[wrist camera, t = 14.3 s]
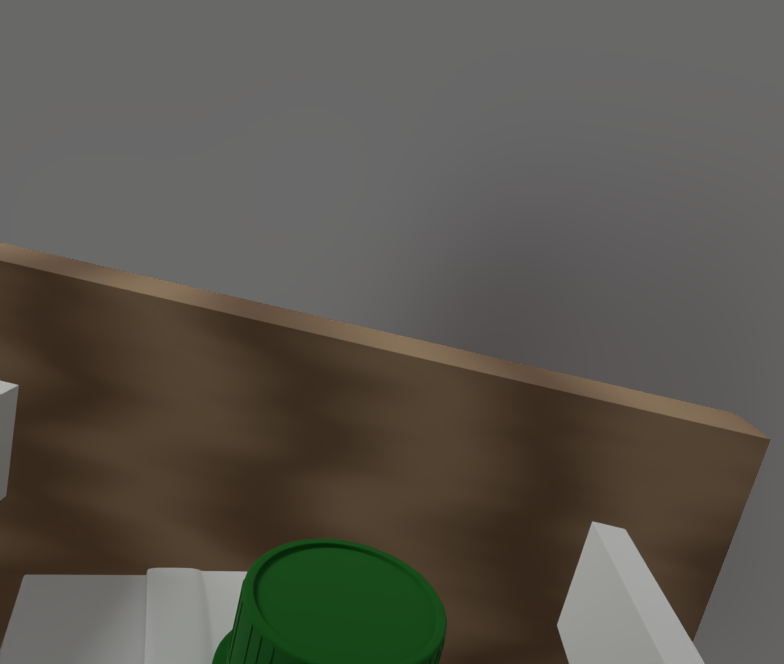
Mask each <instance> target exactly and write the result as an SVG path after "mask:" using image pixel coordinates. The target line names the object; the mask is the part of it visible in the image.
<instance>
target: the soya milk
mask: <svg viewBox="0 0 784 664" xmlns="http://www.w3.org/2000/svg"><path fill="white" fill-rule="evenodd" d="M446 629H447V618H446V613H445V609H444V606H443V604H442V601H441V599H440V597H439V596H438V594H437V592H436V591H435V590H434V588H433V587H432V586H431V585H430V583H429V582H428V581H427V580H426V579H425V578H424V577H423V576H422V575H421V574H420V573H418V572H417V571H416V570H415V569H413V568H412V567H410V566H409V565H408V564H406V563H404V562H403V561H401V560H399V559H398V558H396V557H394V556H392V555H390V554H388V553H386V552H383V551H381V550H378V549H376V548H373V547H370V546H366V545H363V544H359V543H355V542H350V541H344V540H336V539H307V540H299V541H294V542H290V543H286V544H283V545H281V546H278V547H276V548H274V549H272V550H270V551H268V552H266V553H265V554H263V555H262V556H261V557H260V558H258V559H257V560H256V561H255V562H254V563H253V565H252V566H251V567H250V569H249V570H248V572H240V571H200V570H199V569H193V568H151V569H148V570H147V573H146V575H24V577H23V580H22V583H21V586H20V589H19V593H18V596H17V599H16V602H15V605H14V608H13V611H12V615H11V618H10V621H9V624H8V627H7V630H6V633H5V637H4V640H3V643H2V646H1V649H0V664H439V660H440V657H441V653H442V650H443V646H444V642H445V639H444V638H445V635H446Z"/></svg>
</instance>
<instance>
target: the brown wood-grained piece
mask: <svg viewBox="0 0 784 664" xmlns="http://www.w3.org/2000/svg"><path fill="white" fill-rule="evenodd" d="M0 381H4V382H8V383H12V384H17V385H19V388H18V397H17V406H16V414H15V423H14V432H13V441H12V449H11V458H10V467H9V476H8V484H7V493H6V496H5V497H4V498H3V499H2V500H0V649H1V646H2V643H3V640H4V637H5V633H6V630H7V627H8V624H9V621H10V618H11V615H12V611H13V608H14V605H15V602H16V599H17V596H18V593H19V589H20V586H21V583H22V580H23V577H24V575H146V573H147V570H148V569H151V568H193V569H199V570H200V571H240V572H248V570H249V569H250V567H251V566H252V565H253V563H254V562H255V561H256V560H257V559H258V558H260V557H261V556H262V555H263V554H265V553H266V552H268V551H270V550H272V549H274V548H276V547H278V546H281V545H283V544H286V543H290V542H294V541H299V540H307V539H336V540H344V541H350V542H355V543H359V544H363V545H366V546H370V547H373V548H376V549H378V550H381V551H383V552H386V553H388V554H390V555H392V556H394V557H396V558H398V559H399V560H401V561H403V562H404V563H406V564H408V565H409V566H410V567H412V568H413V569H415V570H416V571H417V572H418V573H420V574H421V575H422V576H423V577H424V578H425V579H426V580H427V581H428V582H429V583H430V585H431V586H432V587H433V588H434V590H435V591H436V592H437V594H438V596H439V597H440V599H441V601H442V604H443V606H444V609H445V613H446V618H447V629H446V635H445V638H444V639H445V642H444V646H443V650H442V653H441V657H440V660H439V664H569V662H568V659H567V656H566V653H565V649H564V646H563V643H562V640H561V637H560V633H559V630H558V627H557V623H558V621H559V618H560V615H561V612H562V609H563V606H564V603H565V600H566V597H567V594H568V591H569V588H570V585H571V582H572V579H573V577H574V574H575V571H576V568H577V565H578V562H579V559H580V556H581V553H582V550H583V547H584V544H585V541H586V538H587V536H588V533H589V530H590V527H591V524H592V521H593V522H597V523H602V524H606V525H610V526H614V527H618V528H623V529H625V530H626V531H627V533H628V535H629V536H630V538H631V540H632V541H633V543H634V545H635V546H636V548H637V550H638V552H639V553H640V555H641V557H642V558H643V560H644V562H645V563H646V565H647V567H648V568H649V570H650V572H651V573H652V575H653V577H654V579H655V580H656V582H657V584H658V585H659V587H660V589H661V590H662V592H663V594H664V595H665V597H666V599H667V601H668V602H669V604H670V606H671V607H672V609H673V611H674V612H675V614H676V616H677V617H678V619H679V621H680V622H681V624H682V626H683V628H684V629H685V631H686V633H687V634H688V636H689V638H690V639H691V641H692V642H693V640H694V637H695V635H696V632H697V629H698V627H699V624H700V621H701V619H702V616H703V614H704V611H705V609H706V606H707V603H708V601H709V598H710V595H711V593H712V590H713V588H714V585H715V583H716V580H717V577H718V575H719V572H720V570H721V567H722V564H723V562H724V559H725V557H726V554H727V551H728V549H729V546H730V544H731V541H732V538H733V536H734V533H735V531H736V528H737V525H738V523H739V520H740V518H741V515H742V512H743V510H744V507H745V505H746V502H747V499H748V497H749V494H750V492H751V489H752V486H753V484H754V481H755V479H756V476H757V473H758V471H759V468H760V466H761V463H762V460H763V458H764V455H765V453H766V450H767V447H768V445H769V442H770V439H769V438H768V437H767V436H765V435H764V434H762V433H761V432H760V431H758V430H757V429H756V428H754V427H753V426H751V425H750V424H749V423H747V422H746V421H745V420H743V419H742V418H741V417H739V416H738V415H736V414H735V413H731V412H727V411H722V410H718V409H714V408H709V407H705V406H700V405H697V404H692V403H688V402H683V401H679V400H675V399H670V398H667V397H662V396H658V395H653V394H649V393H645V392H641V391H636V390H632V389H628V388H624V387H619V386H615V385H611V384H606V383H602V382H598V381H594V380H589V379H585V378H581V377H576V376H572V375H568V374H563V373H559V372H555V371H551V370H546V369H541V368H538V367H533V366H529V365H525V364H520V363H516V362H511V361H508V360H503V359H499V358H495V357H490V356H486V355H481V354H478V353H473V352H469V351H465V350H460V349H456V348H452V347H447V346H443V345H439V344H435V343H430V342H426V341H422V340H417V339H413V338H408V337H404V336H400V335H396V334H392V333H387V332H383V331H379V330H374V329H370V328H366V327H361V326H357V325H353V324H349V323H344V322H340V321H336V320H332V319H327V318H323V317H319V316H314V315H310V314H306V313H301V312H297V311H293V310H288V309H284V308H280V307H276V306H271V305H267V304H262V303H258V302H254V301H250V300H246V299H241V298H237V297H233V296H228V295H224V294H220V293H216V292H211V291H207V290H203V289H198V288H194V287H190V286H185V285H181V284H177V283H172V282H168V281H164V280H160V279H155V278H151V277H147V276H142V275H138V274H134V273H129V272H125V271H121V270H117V269H112V268H108V267H104V266H100V265H95V264H91V263H86V262H82V261H78V260H74V259H69V258H65V257H61V256H56V255H52V254H48V253H44V252H39V251H35V250H31V249H26V248H22V247H18V246H14V245H9V244H5V243H1V242H0Z"/></svg>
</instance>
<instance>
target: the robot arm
mask: <svg viewBox="0 0 784 664" xmlns="http://www.w3.org/2000/svg"><path fill="white" fill-rule="evenodd" d="M18 388H19V385H17V384H12V383H8V382H4V381H0V500H2V499H3V498H4V497H5V496H6V493H7V484H8V476H9V467H10V458H11V449H12V441H13V432H14V423H15V414H16V406H17V397H18ZM557 627H558V630H559V633H560V637H561V640H562V643H563V646H564V649H565V653H566V656H567V659H568V662H569V664H705V663H704V661H703V660H702V658H701V656H700V655H699V653H698V651H697V650H696V648H695V646H694V645H693V643H692V641H691V639H690V638H689V636H688V634H687V633H686V631H685V629H684V628H683V626H682V624H681V622H680V621H679V619H678V617H677V616H676V614H675V612H674V611H673V609H672V607H671V606H670V604H669V602H668V601H667V599H666V597H665V595H664V594H663V592H662V590H661V589H660V587H659V585H658V584H657V582H656V580H655V579H654V577H653V575H652V573H651V572H650V570H649V568H648V567H647V565H646V563H645V562H644V560H643V558H642V557H641V555H640V553H639V552H638V550H637V548H636V546H635V545H634V543H633V541H632V540H631V538H630V536H629V535H628V533H627V531H626V530H625V529H623V528H618V527H614V526H610V525H606V524H602V523H597V522H593V521H592V524H591V527H590V530H589V533H588V536H587V538H586V541H585V544H584V547H583V550H582V553H581V556H580V559H579V562H578V565H577V568H576V571H575V574H574V577H573V579H572V582H571V585H570V588H569V591H568V594H567V597H566V600H565V603H564V606H563V609H562V612H561V615H560V618H559V621H558V623H557Z"/></svg>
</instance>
